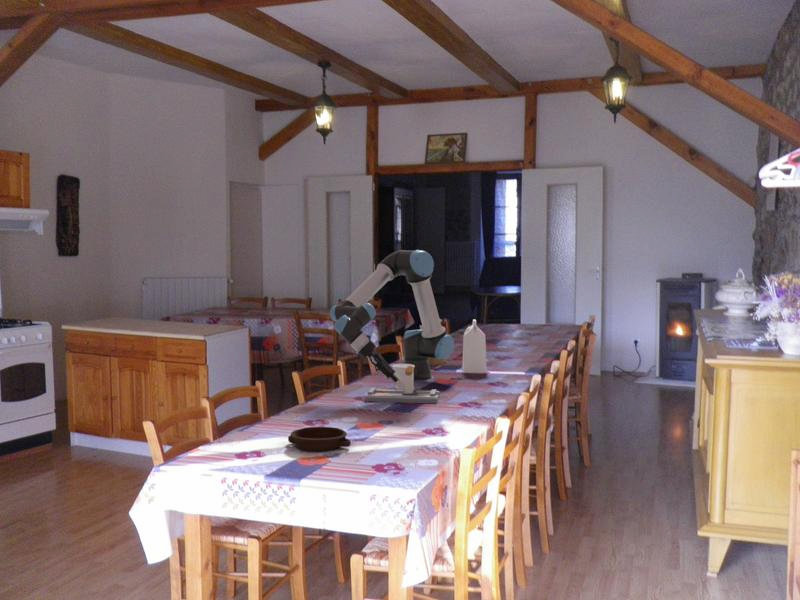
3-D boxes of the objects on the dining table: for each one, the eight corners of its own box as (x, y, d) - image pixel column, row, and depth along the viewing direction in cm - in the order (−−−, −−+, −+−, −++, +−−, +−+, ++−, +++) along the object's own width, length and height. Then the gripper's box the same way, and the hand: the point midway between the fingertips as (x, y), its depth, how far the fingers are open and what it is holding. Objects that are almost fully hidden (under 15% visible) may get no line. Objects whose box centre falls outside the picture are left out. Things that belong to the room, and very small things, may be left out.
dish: (340, 457, 246) (340, 441, 245) (276, 451, 252) (275, 436, 252) (359, 443, 263) (359, 428, 262) (298, 438, 269) (298, 423, 269)
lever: (402, 396, 328) (402, 368, 327) (404, 392, 336) (404, 365, 335) (414, 396, 327) (414, 368, 326) (416, 393, 335) (416, 365, 334)
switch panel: (364, 401, 327) (364, 393, 327) (370, 394, 341) (370, 386, 341) (436, 403, 323) (436, 395, 323) (439, 396, 337) (439, 388, 337)
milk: (486, 373, 395) (487, 321, 393) (463, 373, 395) (463, 321, 393) (484, 369, 407) (485, 318, 405) (462, 368, 407) (462, 318, 405)
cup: (412, 392, 346) (412, 367, 345) (390, 391, 348) (390, 367, 347) (416, 388, 355) (416, 364, 354) (395, 387, 357) (395, 363, 356)
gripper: (367, 342, 326) (407, 383, 325) (372, 338, 339) (411, 377, 338) (354, 354, 327) (394, 395, 326) (360, 350, 340) (398, 389, 339)
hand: (402, 386), depth 332 cm, fingers closed
